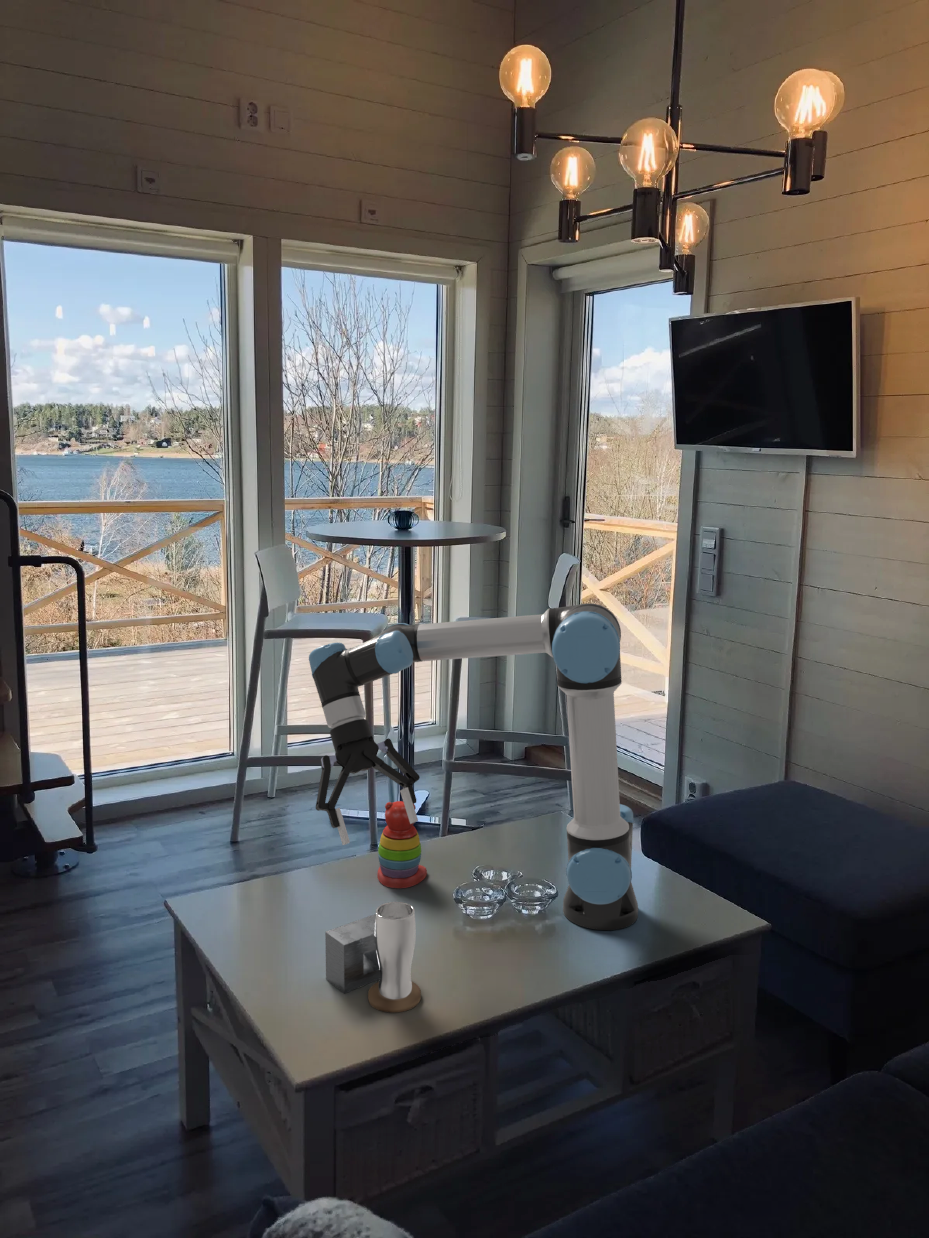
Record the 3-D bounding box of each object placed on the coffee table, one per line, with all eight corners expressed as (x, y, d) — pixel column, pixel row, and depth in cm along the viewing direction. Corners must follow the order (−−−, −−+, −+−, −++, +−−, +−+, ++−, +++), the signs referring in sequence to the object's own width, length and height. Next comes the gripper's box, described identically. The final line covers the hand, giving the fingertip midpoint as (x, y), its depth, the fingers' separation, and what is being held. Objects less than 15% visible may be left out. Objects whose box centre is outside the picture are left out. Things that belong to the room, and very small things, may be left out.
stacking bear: (428, 871, 217) (429, 795, 214) (419, 891, 207) (420, 811, 204) (381, 867, 218) (381, 792, 215) (370, 887, 208) (370, 808, 205)
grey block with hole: (326, 978, 172) (325, 931, 171) (381, 957, 180) (381, 911, 178) (344, 993, 168) (343, 944, 166) (400, 970, 175) (400, 924, 174)
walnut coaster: (424, 984, 171) (424, 979, 170) (416, 1014, 162) (416, 1008, 162) (373, 981, 171) (373, 976, 171) (363, 1010, 163) (363, 1005, 162)
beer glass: (370, 985, 168) (369, 904, 166) (408, 977, 171) (408, 898, 168) (381, 1006, 162) (381, 923, 159) (420, 998, 164) (421, 916, 162)
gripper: (402, 712, 192) (435, 816, 188) (280, 744, 182) (312, 855, 177) (413, 703, 186) (447, 810, 181) (288, 736, 175) (321, 850, 171)
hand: (380, 833), depth 179 cm, fingers open, 13 cm apart
